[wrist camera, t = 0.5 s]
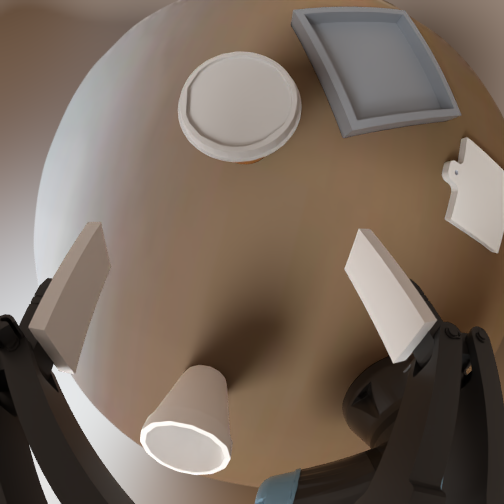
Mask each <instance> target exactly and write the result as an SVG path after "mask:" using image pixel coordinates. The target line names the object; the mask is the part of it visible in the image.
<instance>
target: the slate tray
mask: <svg viewBox="0 0 504 504" xmlns="http://www.w3.org/2000/svg"><path fill="white" fill-rule="evenodd" d="M291 26H292V28H293V30H294V31H295V33H296V35H297V37H298V39H299V40H300V42H301V44H302V46H303V48H304V50H305V52H306V54H307V56H308V58H309V60H310V62H311V64H312V66H313V68H314V70H315V72H316V74H317V76H318V79H319V81H320V83H321V85H322V87H323V90H324V92H325V94H326V97H327V99H328V101H329V104H330V106H331V109H332V111H333V113H334V116H335V118H336V121H337V124H338V126H339V129H340V131H341V134H342V137H343V138H346V137H351V136H356V135H361V134H366V133H371V132H376V131H381V130H387V129H393V128H399V127H405V126H412V125H418V124H426V123H434V122H442V121H448V120H451V119H453V118H456V117H458V116H461V113H460V111H459V108H458V106H457V103H456V101H455V98H454V96H453V94H452V91H451V89H450V87H449V85H448V83H447V81H446V78H445V76H444V74H443V72H442V70H441V68H440V66H439V65H438V63H437V61H436V59H435V57H434V55H433V53H432V52H431V50H430V48H429V46H428V45H427V43H426V41H425V40H424V38H423V36H422V35H421V33H420V32H419V30H418V29H417V27H416V26H415V24H414V23H413V21H412V20H411V18H410V17H409V15H408V14H407V13H406V11H405V10H396V9H386V8H372V7H323V8H308V9H298V10H293V15H292V21H291Z"/></svg>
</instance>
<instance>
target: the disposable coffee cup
mask: <svg viewBox="0 0 504 504" xmlns="http://www.w3.org/2000/svg"><path fill="white" fill-rule="evenodd" d="M301 110H302V107H301V97H300V93H299V90H298V88H297V86H296V84H295V82H294V80H293V79H292V78H291V76H290V75H289V74H288V72H287V71H286V70H285V69H284V68H283V67H282V66H281V65H279V64H278V63H277V62H275V61H274V60H272V59H270V58H268V57H266V56H263V55H260V54H256V53H252V52H232V53H226V54H221V55H219V56H216V57H214V58H212V59H209V60H207V61H206V62H204V63H203V64H202V65H200V66H199V67H198V68H196V69H195V71H194V72H193V73H192V74H191V75H190V76H189V78H188V79H187V81H186V83H185V85H184V87H183V89H182V92H181V96H180V99H179V105H178V117H179V122H180V126H181V128H182V131H183V133H184V134H185V136H186V137H187V139H188V140H189V142H190V143H192V144H193V145H194V146H195V147H196V148H197V149H198V150H200V151H201V152H203V153H204V154H206V155H208V156H210V157H212V158H216V159H219V160H223V161H230V162H235V163H238V164H252V163H255V162H258V161H259V160H261V159H263V158H264V157H265V156H267V155H269V154H271V153H273V152H275V151H276V150H277V149H279V148H280V147H281V146H283V145H284V144H285V143H286V142H287V141H288V140H289V139H290V137H291V136H292V134H293V133H294V131H295V130H296V128H297V125H298V123H299V120H300V116H301Z"/></svg>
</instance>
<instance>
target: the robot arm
mask: <svg viewBox="0 0 504 504" xmlns="http://www.w3.org/2000/svg"><path fill="white" fill-rule="evenodd" d="M110 268H111V264H110V260H109V256H108V252H107V248H106V243H105V239H104V234H103V229H102V224H101V222H88V223H87V225H86V226H85V227H84V229H83V230H82V232H81V233H80V235H79V236H78V238H77V239H76V241H75V242H74V244H73V246H72V247H71V249H70V250H69V252H68V253H67V255H66V257H65V258H64V260H63V262H62V263H61V265H60V267H59V268H58V270H57V272H56V274H55V275H54V277H53V279H51V278H47V279H46V280H45V281H44V282H43V283H42V284H41V285H40V286H39V288H38V290H37V291H36V293H35V297H33V299H32V301H31V304H29V307H28V308H27V310H26V312H25V314H24V316H23V318H22V321H21V323H20V325H19V326H18V324H17V322H16V321H15V319H14V318H13V317H12V316H11V315H6V314H5V315H2V316H0V504H48V503H47V500H46V498H45V495H44V493H43V490H42V487H41V485H40V481H39V478H38V475H37V472H36V469H35V466H34V462H33V458H32V455H31V451H30V447H31V450H32V452H33V454H34V456H35V458H36V460H37V462H38V464H39V466H40V468H41V470H42V472H43V474H44V476H45V477H46V479H47V481H48V483H49V485H50V486H51V488H52V490H53V491H54V493H55V495H56V496H57V498H58V499H59V501H60V502H61V504H135V503H134V502H133V501H132V500H131V499H130V497H129V496H128V495H127V494H126V493H125V491H124V490H123V489H122V488H121V486H120V485H119V484H118V483H117V481H116V480H115V479H114V478H113V476H112V475H111V473H110V472H109V471H108V469H107V468H106V467H105V465H104V464H103V462H102V461H101V459H100V458H99V456H98V455H97V454H96V452H95V450H94V449H93V447H92V446H91V444H90V443H89V441H88V439H87V438H86V436H85V434H84V433H83V431H82V429H81V428H80V426H79V424H78V422H77V421H76V419H75V417H74V415H73V413H72V411H71V409H70V407H69V405H68V403H67V401H66V399H65V397H64V395H63V393H62V391H61V389H60V387H59V384H58V382H57V380H56V377H55V375H54V374H53V372H52V371H51V370H52V367H53V364H54V365H55V366H56V367H57V368H58V370H59V371H61V372H66V373H71V374H75V372H76V368H77V364H78V361H79V357H80V353H81V350H82V347H83V343H84V340H85V337H86V334H87V330H88V327H89V324H90V321H91V318H92V315H93V313H94V310H95V307H96V304H97V301H98V299H99V296H100V293H101V291H102V288H103V286H104V283H105V280H106V278H107V275H108V273H109V271H110ZM345 271H346V273H347V274H348V276H349V278H350V280H351V281H352V283H353V285H354V287H355V289H356V291H357V292H358V294H359V296H360V298H361V300H362V302H363V304H364V306H365V307H366V309H367V311H368V313H369V315H370V317H371V319H372V321H373V323H374V325H375V327H376V329H377V331H378V333H379V335H380V337H381V339H382V341H383V343H384V345H385V347H386V349H387V351H388V354H389V356H390V357H387V358H385V359H382V360H380V361H378V362H377V363H375V364H373V365H372V366H371V367H369V368H368V369H367V370H365V371H364V372H363V373H362V374H361V375H360V376H359V377H358V378H357V379H356V380H355V381H354V382H353V384H352V385H351V386H350V388H349V390H348V391H347V393H346V395H345V398H344V401H343V414H344V417H345V419H346V422H347V424H348V426H349V428H350V429H351V430H352V431H353V432H354V433H355V434H356V435H357V436H359V437H360V438H361V439H362V440H363V441H364V442H365V443H366V444H368V445H369V446H370V448H371V449H370V450H367V451H365V452H362V453H359V454H356V455H353V456H350V457H347V458H344V459H340V460H337V461H334V462H330V463H326V464H323V465H319V466H315V467H311V468H306V469H302V470H301V469H297V470H296V471H294V472H289V473H285V474H281V475H276V476H272V477H269V478H268V479H266V480H265V481H264V482H263V483H262V484H261V486H260V488H259V490H258V493H257V496H256V500H255V504H504V403H503V397H502V391H501V385H500V380H499V375H498V370H497V366H496V362H495V358H494V354H493V350H492V346H491V342H490V339H489V337H488V335H487V333H486V331H485V330H483V329H482V328H480V327H477V326H475V327H473V328H472V329H471V331H470V332H469V333H468V334H467V333H460V331H459V329H458V328H457V327H456V326H455V325H453V324H452V323H449V322H443V321H442V319H441V318H440V316H439V315H438V313H437V312H436V310H435V309H434V307H433V306H432V304H431V303H430V301H428V298H427V297H426V296H425V295H424V293H423V291H422V290H421V288H420V287H419V286H418V285H417V284H416V283H415V282H414V281H412V280H411V279H409V278H408V277H407V275H406V274H405V273H404V271H403V270H402V269H401V267H400V266H399V265H398V263H397V262H396V261H395V259H394V258H393V257H392V256H391V254H390V253H389V252H388V250H387V249H386V248H385V247H384V245H383V244H382V243H381V242H380V240H379V239H378V238H377V237H376V235H375V234H374V233H373V232H372V231H371V229H358V232H357V235H356V238H355V241H354V244H353V247H352V250H351V252H350V255H349V258H348V261H347V263H346V266H345ZM412 352H413V354H411V353H412ZM470 366H472V371H471V372H470V373H469V374H467V373H466V370H467V369H468V368H469V367H470ZM29 445H30V447H29Z"/></svg>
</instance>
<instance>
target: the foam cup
mask: <svg viewBox="0 0 504 504" xmlns="http://www.w3.org/2000/svg"><path fill="white" fill-rule="evenodd" d="M140 442H141V443H142V445H143V447H144V449H145V450H146V452H147V453H148V454H149V455H150V456H151V457H153V458H154V459H155V460H156V461H157V462H159V463H160V464H162V465H164V466H167V467H169V468H171V469H173V470H175V471H178V472H183V473H189V474H193V475H202V474H213V473H215V472H218V471H220V470H222V469H224V468H226V466H227V464H228V462H229V461H230V459H231V452H232V440H231V436H230V426H229V410H228V391H227V384H226V379H225V377H224V376H223V375H222V374H221V373H220V372H219V371H218V370H216V369H214V368H212V367H210V366H204V365H196V366H192V367H189V368H188V369H187V370H186V371H185V372H184V373H183V374H182V375H181V377H180V378H179V379H178V381H177V382H176V383H175V385H174V386H173V387H172V389H171V390H170V391H169V393H168V394H167V395H166V397H165V398H164V399H163V401H162V402H161V403H160V405H159V406H158V407H157V409H156V410H155V411H154V412H153V413H152V414H150V415H149V416H148V418H147V420H146V422H145V424H144V426H143V428H142V430H141V437H140Z"/></svg>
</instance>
